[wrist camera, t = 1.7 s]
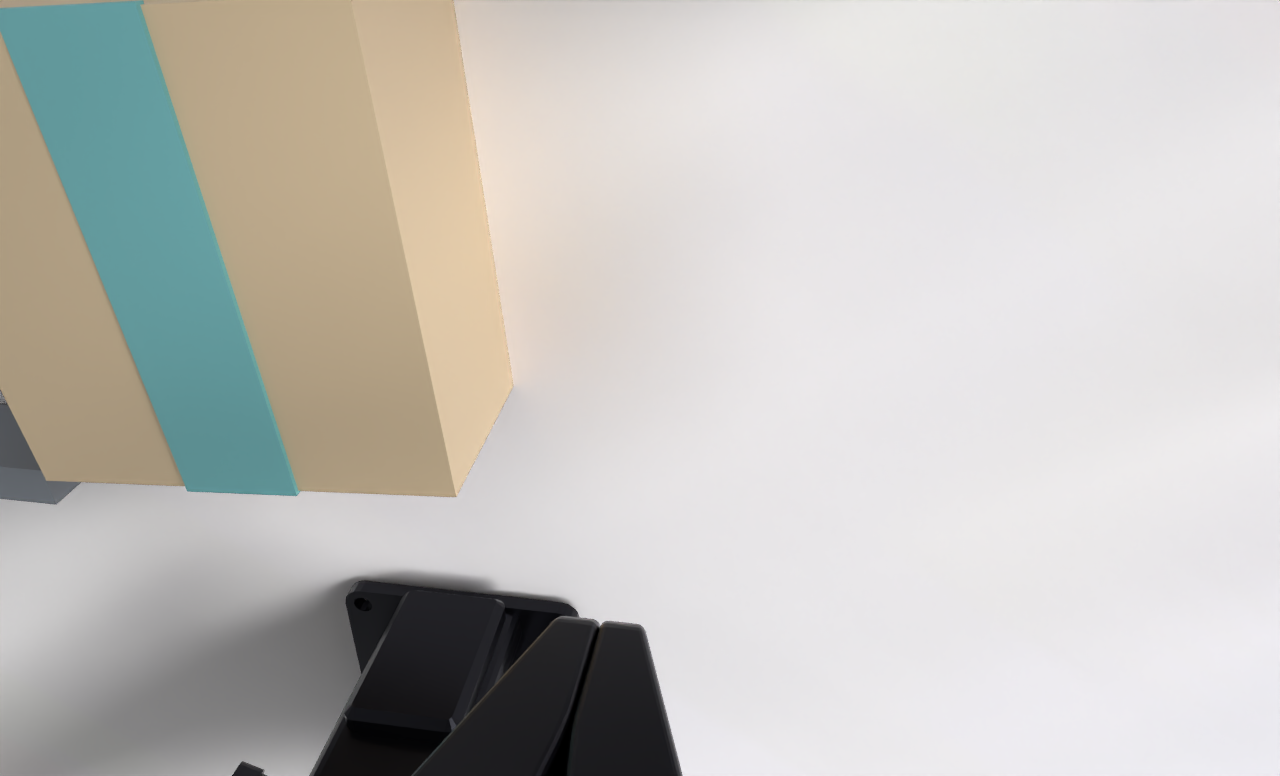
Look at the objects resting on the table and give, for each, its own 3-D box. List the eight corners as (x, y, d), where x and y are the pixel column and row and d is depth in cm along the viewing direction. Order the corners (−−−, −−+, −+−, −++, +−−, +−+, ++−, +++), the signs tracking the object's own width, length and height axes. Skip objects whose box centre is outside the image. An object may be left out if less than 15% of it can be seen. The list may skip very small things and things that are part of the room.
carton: (516, 381, 21) (455, 502, 17) (173, 374, 22) (43, 485, 18) (450, -42, 16) (345, -10, 12) (23, -17, 18) (-194, 19, 14)
